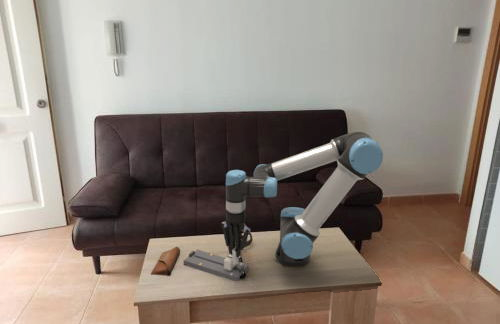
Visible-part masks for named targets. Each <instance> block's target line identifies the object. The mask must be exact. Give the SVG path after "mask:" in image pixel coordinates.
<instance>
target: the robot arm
mask: <svg viewBox="0 0 500 324" xmlns="http://www.w3.org/2000/svg"><path fill="white" fill-rule="evenodd" d="M382 149H383V148H382V147H381V146H380V145H379V142H378V141H376V140H375V139H374V138H372V137H371V136H370V135H369V134H367V133H365V132H363V131H353V132H349V133H346V134H343V135H341V136H338V137H335V138H332V139H331V140H330V142H329V143H326V144H323V145H321V146H317V147H314V148H311V149H309V150H306V151H303V152H301V153H298V154H295V155H292V156H289V157H286V158H283V159H279V160H278V161H274V162H272V163H268V164H265V163H262V164H261V163H260V164H258V165H257V166H256V168H255V169H254V171H253V176H247V173H246V172H245V171H244V170H240V169H232V170H229V171H227V173H226V174H225V220H224V221H222V222H221V223H220V227H221V229H222V232H223V233H222V234H223V237H224V241H225V246H226V247H229V248H230V254H231V255H232V264H234V265H236V264H237V263H238V262H240V259H239V258H240V257H241V253H242V251H243V250H244V249H245V248H246V247H245V245H246V242H247V241H248V237H249V232H250V233H251V231H252V228H251V227H248V226H247V223H246V197H255V198H267V199H268V198H275V197H276V196H277V193H278V181H280V180H284V179H286V178H289V177H292V176H295V175H298V174H301V173H303V172H307V171H310V170H312V169H315V168H318V167H321V166H325V165H327V164H331V163H333V162H337V167H336V168H335V170H334V171H333V172H332V174H331V175H330V176H329V178H328V179H327V180H326V181H325V183H324V184H323V186H322V187H321V188H319V190H318V192H317V193H316V195H315V196H314V197H313V199H312V200H311V201H310V203H308V206H306V208H302V207H297V206H296V207H295V206H293V207H292V206H291V207H290V206H289V207H284V208H283V209H281V212H280V232H279V242H278V244H277V247H276V250H275V255H274V256H275V260H276V261H277V263H280V264H281V265H283V266H287V267H292V268H294V267H295V268H297V267H298V268H299V267H303V266H305V265H308V263H309V262H310V260H311V253H312V252H313V249H314V243H315V241H316V240H317V239H318V238H319V236H320V235H321V233H320V228H321V227H322V225H323V224H324V223H325V222H326V221H327V219H328V218H329V217H330V215H332V213H333V212H334V211H335V209H336V208H337V207H338V206H339V205H340V203H341V202H342V200H343V199H344V198H345V197H346V195H347V194H348V192H349V191H350V190H351V189H352V187H353V186H354V185H355V183H357V181H361V180H364V179H365V178H366V177H367V176H368V175H369V174H372V173H374V172H376V171H377V170H379V168H380V167H381V165H382V164H383V160H384V152H383V150H382ZM242 230H244V233H242ZM241 233H242V235H243V237H242V239H241ZM241 240H242V241H241Z"/></svg>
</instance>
